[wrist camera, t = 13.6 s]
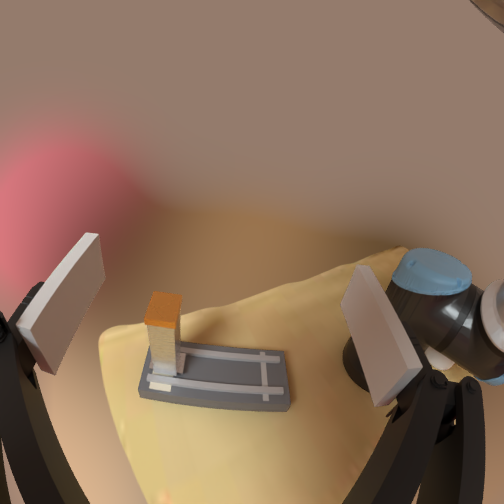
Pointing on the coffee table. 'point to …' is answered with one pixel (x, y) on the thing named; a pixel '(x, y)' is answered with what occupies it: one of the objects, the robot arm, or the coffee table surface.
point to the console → (222, 379)
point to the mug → (438, 359)
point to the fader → (165, 333)
